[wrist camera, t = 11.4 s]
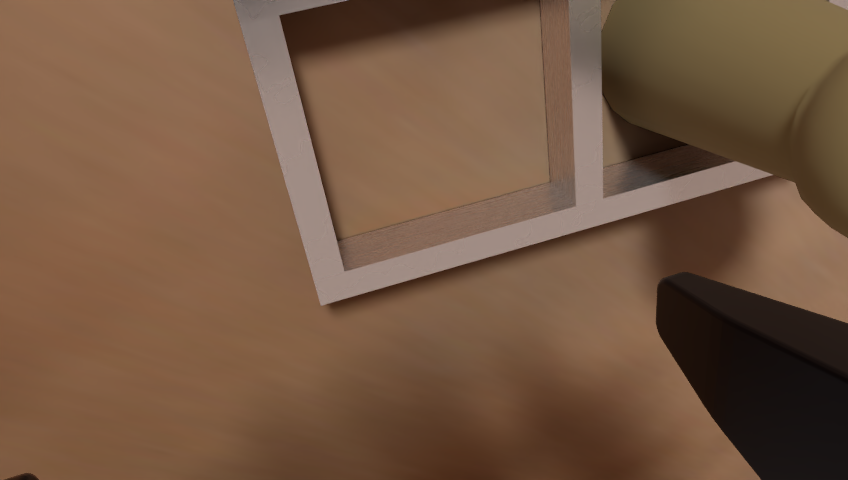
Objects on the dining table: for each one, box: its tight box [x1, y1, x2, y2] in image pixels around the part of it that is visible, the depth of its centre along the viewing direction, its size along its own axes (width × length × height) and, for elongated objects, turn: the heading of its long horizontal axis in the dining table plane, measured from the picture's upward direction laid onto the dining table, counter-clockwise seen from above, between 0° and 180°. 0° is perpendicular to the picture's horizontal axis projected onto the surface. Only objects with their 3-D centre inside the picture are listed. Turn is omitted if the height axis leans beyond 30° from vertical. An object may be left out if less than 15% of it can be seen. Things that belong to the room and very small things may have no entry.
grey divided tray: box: [233, 0, 848, 306], centre depth 22 cm, size 19×10×2 cm, turn 98°
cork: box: [601, 0, 848, 238], centre depth 19 cm, size 6×6×11 cm
